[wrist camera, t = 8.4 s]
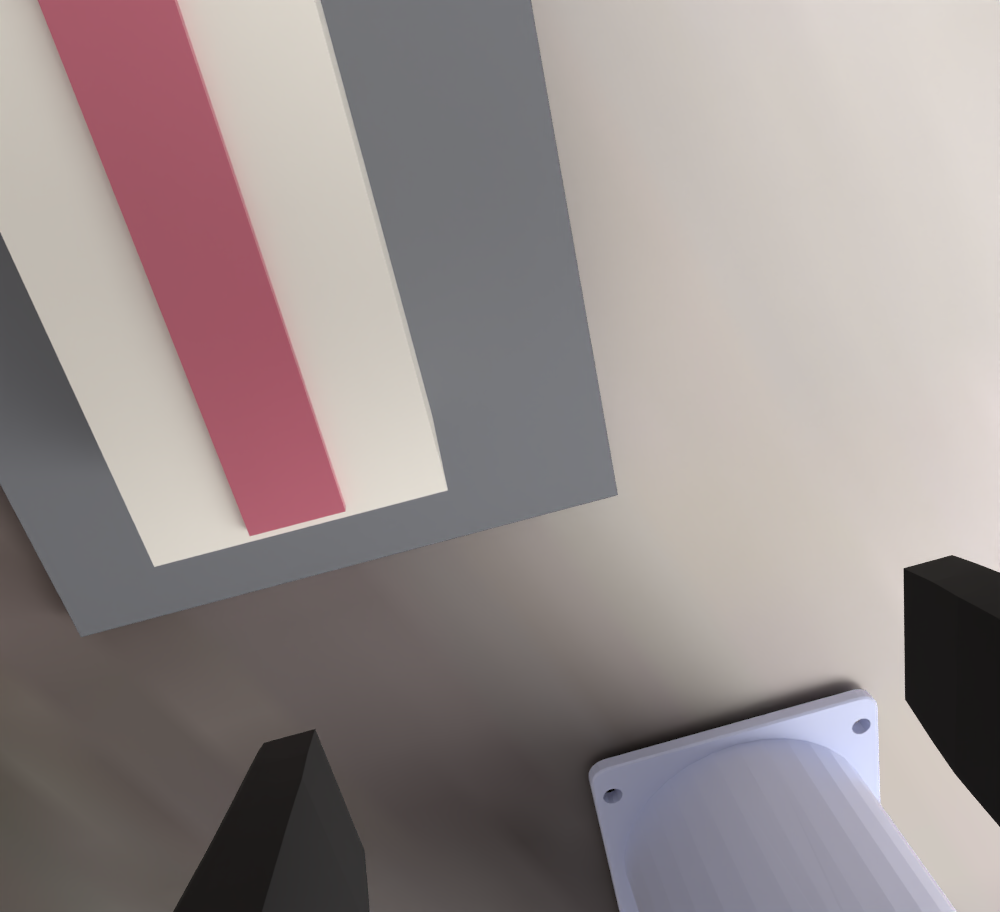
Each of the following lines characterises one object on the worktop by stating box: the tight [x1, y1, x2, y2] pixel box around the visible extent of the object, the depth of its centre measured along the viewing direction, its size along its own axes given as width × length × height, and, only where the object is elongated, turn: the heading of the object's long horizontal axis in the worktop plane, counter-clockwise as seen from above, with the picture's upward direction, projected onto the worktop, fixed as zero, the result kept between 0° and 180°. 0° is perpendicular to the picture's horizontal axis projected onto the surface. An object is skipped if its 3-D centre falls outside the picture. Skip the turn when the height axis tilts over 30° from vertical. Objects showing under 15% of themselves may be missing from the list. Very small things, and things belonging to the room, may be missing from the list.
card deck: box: [0, 0, 448, 567], centre depth 14 cm, size 5×9×4 cm, turn 12°
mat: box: [0, 0, 618, 637], centre depth 16 cm, size 14×12×1 cm
